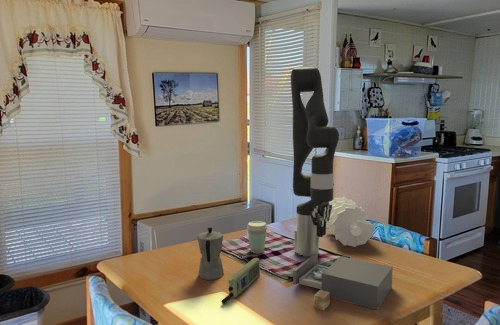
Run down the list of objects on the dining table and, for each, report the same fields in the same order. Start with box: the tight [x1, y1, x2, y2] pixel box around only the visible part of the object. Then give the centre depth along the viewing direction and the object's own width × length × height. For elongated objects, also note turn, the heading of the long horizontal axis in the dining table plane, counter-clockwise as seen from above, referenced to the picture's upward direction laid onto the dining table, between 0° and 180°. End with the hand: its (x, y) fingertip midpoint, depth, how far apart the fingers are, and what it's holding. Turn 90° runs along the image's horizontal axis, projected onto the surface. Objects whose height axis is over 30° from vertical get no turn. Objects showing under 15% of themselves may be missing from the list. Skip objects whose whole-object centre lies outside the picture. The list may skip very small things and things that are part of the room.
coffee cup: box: [246, 220, 268, 254], centre depth 172 cm, size 8×8×12 cm
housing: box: [321, 256, 393, 311], centre depth 134 cm, size 18×17×8 cm
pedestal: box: [313, 289, 331, 311], centre depth 125 cm, size 3×4×4 cm
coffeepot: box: [196, 226, 225, 281], centre depth 147 cm, size 15×9×18 cm, turn 179°
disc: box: [312, 268, 326, 281], centre depth 141 cm, size 6×6×2 cm
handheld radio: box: [221, 257, 261, 305], centre depth 138 cm, size 7×3×25 cm
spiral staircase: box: [326, 196, 376, 248], centre depth 184 cm, size 18×18×25 cm
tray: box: [292, 253, 329, 290], centre depth 140 cm, size 18×18×5 cm
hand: (321, 235), depth 139 cm, fingers closed
